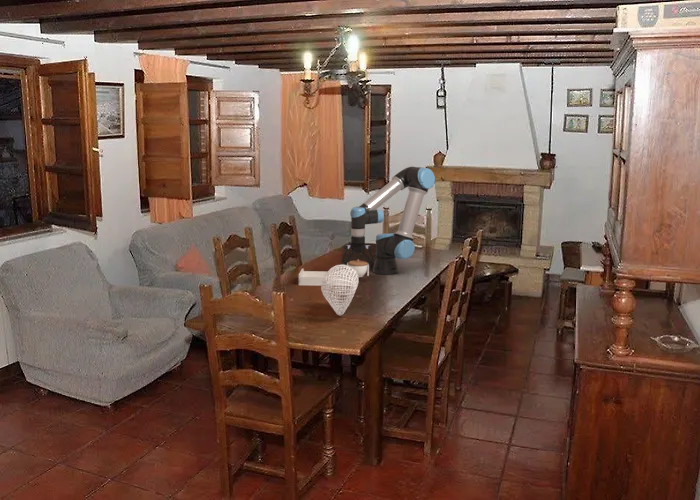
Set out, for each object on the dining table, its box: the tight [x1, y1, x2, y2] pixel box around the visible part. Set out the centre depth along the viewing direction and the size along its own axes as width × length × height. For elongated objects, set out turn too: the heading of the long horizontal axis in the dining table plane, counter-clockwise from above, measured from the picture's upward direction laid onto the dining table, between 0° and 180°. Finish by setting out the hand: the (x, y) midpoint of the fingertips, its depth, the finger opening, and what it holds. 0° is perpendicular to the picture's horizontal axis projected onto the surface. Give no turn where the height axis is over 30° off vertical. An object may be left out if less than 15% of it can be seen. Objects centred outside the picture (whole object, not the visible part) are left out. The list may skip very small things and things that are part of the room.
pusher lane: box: [298, 268, 353, 287], centre depth 363 cm, size 31×15×6 cm, turn 87°
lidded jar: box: [347, 258, 368, 278], centre depth 360 cm, size 11×11×9 cm
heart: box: [320, 264, 359, 316], centre depth 300 cm, size 28×16×22 cm, turn 174°
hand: (357, 274), depth 361 cm, fingers closed on lidded jar, 11 cm apart
